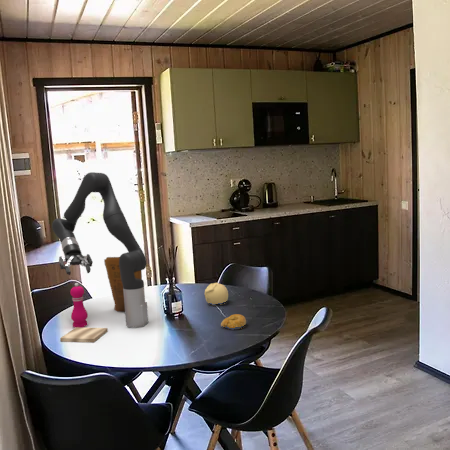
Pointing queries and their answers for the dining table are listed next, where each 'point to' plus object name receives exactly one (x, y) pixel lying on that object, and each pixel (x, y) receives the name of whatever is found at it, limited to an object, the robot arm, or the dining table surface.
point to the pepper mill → (78, 307)
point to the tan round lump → (216, 293)
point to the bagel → (234, 321)
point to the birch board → (84, 334)
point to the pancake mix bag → (117, 281)
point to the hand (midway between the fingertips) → (79, 272)
